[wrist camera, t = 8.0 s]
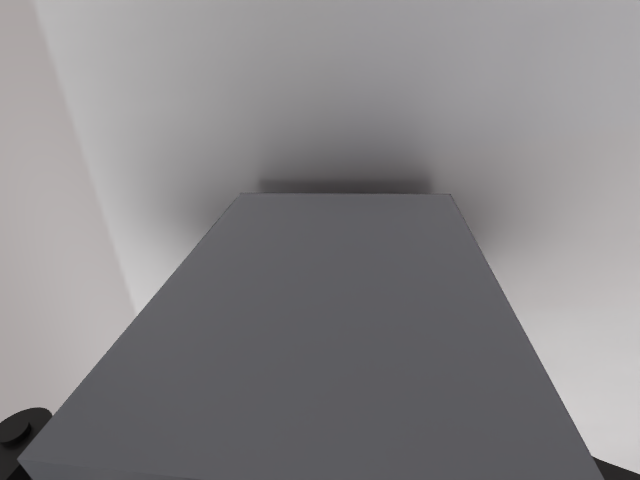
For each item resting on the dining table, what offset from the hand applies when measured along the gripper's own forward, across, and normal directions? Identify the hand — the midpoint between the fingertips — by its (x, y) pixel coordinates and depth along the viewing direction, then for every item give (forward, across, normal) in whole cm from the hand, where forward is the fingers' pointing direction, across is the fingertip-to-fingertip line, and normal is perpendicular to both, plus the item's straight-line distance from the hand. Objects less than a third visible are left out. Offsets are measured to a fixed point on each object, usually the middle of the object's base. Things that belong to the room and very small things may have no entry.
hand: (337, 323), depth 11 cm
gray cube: (+2, 0, 0) cm, 2 cm away
